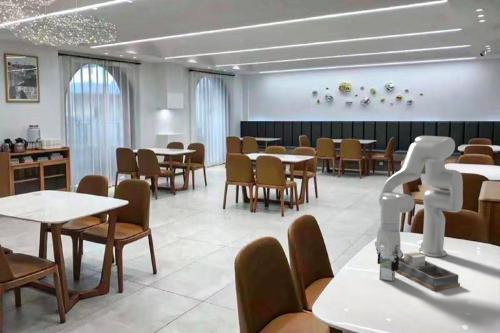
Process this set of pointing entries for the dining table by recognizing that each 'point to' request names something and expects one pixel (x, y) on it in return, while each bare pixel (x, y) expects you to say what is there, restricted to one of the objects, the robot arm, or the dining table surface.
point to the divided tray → (426, 272)
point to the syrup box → (386, 266)
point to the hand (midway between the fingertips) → (387, 266)
